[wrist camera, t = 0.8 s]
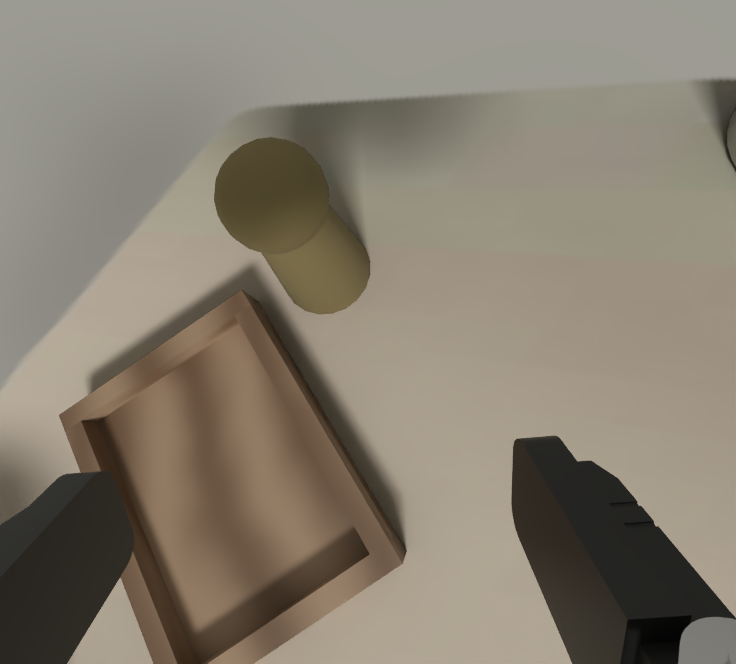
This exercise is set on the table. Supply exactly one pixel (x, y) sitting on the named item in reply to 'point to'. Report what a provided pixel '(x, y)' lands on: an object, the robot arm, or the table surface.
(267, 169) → the cork
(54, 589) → the robot arm
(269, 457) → the walnut tray
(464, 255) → the table surface
